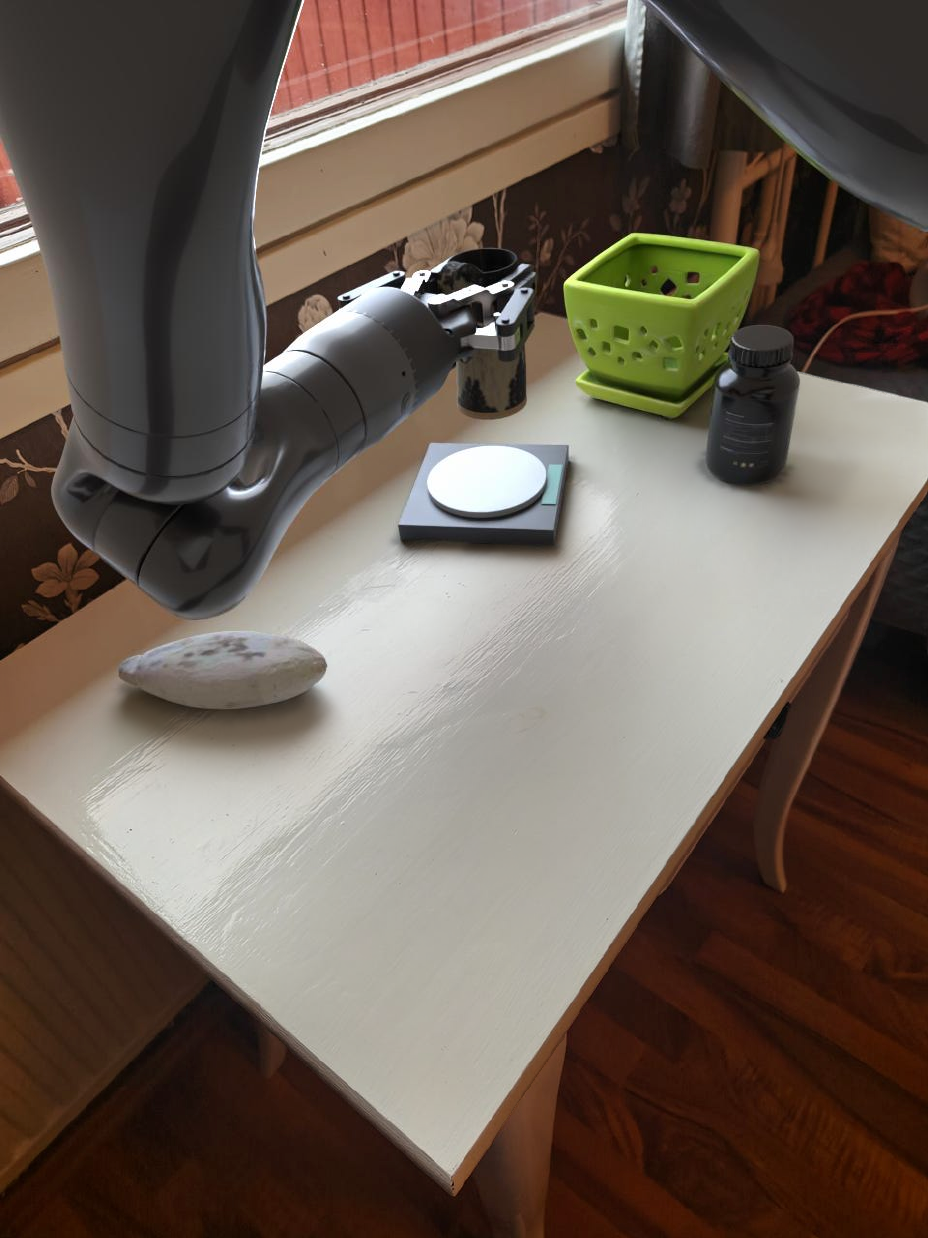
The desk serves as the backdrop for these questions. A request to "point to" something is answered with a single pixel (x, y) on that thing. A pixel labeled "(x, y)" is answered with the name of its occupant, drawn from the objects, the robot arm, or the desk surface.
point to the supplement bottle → (753, 407)
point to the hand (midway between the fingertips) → (493, 273)
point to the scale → (487, 494)
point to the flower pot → (657, 319)
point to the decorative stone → (226, 669)
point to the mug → (482, 375)
